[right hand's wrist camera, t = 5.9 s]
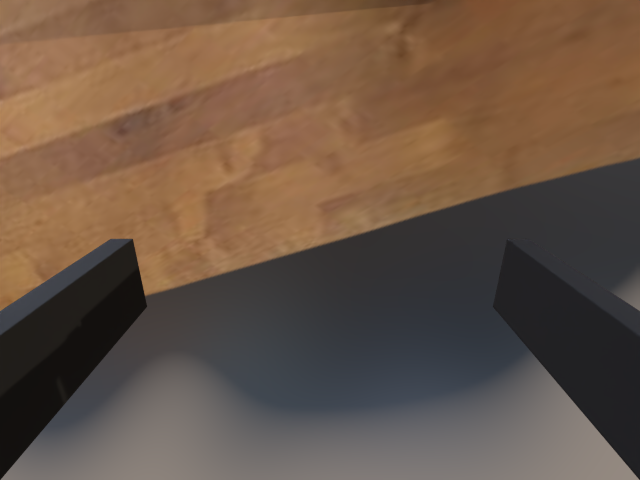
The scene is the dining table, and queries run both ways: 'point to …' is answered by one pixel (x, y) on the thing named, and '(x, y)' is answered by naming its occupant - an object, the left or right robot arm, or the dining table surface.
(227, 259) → the dining table surface
